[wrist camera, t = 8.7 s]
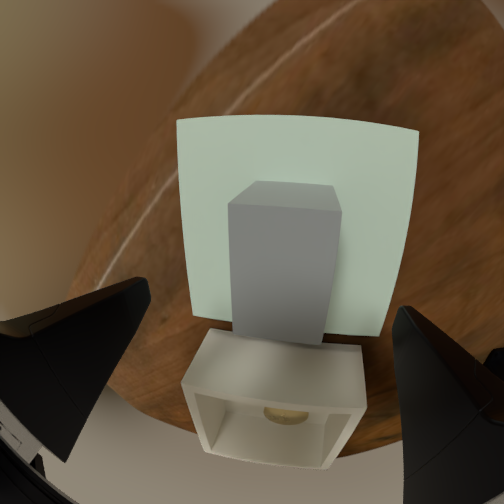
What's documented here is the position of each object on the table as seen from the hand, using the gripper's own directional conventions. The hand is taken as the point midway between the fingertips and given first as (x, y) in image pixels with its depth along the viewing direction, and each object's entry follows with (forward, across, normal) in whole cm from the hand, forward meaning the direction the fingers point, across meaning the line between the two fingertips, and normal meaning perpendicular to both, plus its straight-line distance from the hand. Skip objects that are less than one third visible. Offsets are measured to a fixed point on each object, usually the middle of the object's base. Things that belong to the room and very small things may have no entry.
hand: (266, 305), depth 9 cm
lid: (+9, 0, 0) cm, 9 cm away
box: (+8, 0, +15) cm, 17 cm away
